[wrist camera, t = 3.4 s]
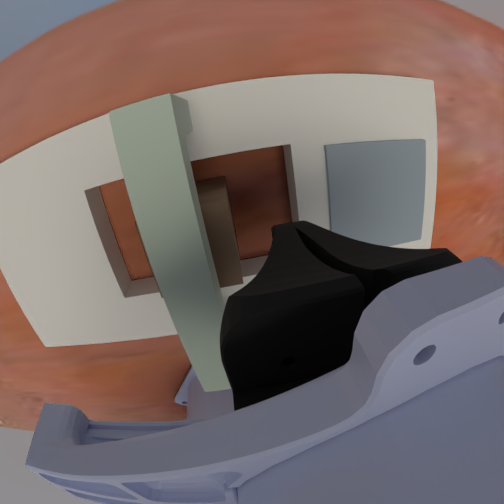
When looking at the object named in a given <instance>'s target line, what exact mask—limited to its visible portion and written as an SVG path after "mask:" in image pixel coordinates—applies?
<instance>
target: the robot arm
mask: <svg viewBox="0 0 504 504" xmlns="http://www.w3.org/2000/svg"><path fill="white" fill-rule="evenodd" d="M271 229H272V237H273V241H272V246H271V249H270V252H269V255H268V257H267V259H266V261H265V263H264V265H263V267H262V268H261V270H260V271H259V272H258V274H257V275H256V276H255V277H254V278H253V279H252V280H251V281H250V282H249V283H248V284H247V285H245V286H244V287H243V288H241V289H240V290H238V291H237V292H235V293H234V294H232V295H230V296H229V297H228V299H227V302H226V306H225V309H224V313H223V317H222V322H221V329H220V353H221V360H222V364H223V367H224V369H225V372H226V375H227V378H228V381H229V383H230V386H231V389H226V390H219V391H211V392H205V391H204V389H203V387H202V385H201V383H200V381H199V379H198V377H197V375H196V373H195V371H194V369H193V366H191V368H190V370H189V372H188V374H187V376H186V377H185V379H184V381H183V383H182V385H181V387H180V389H179V390H178V392H177V394H176V396H175V400H174V401H175V402H176V403H177V404H181V405H185V406H187V420H181V421H160V422H114V421H94V420H89V419H88V418H87V417H86V415H85V414H84V413H83V412H82V411H81V410H80V409H78V408H77V407H75V406H72V405H68V404H57V403H44V406H43V409H42V412H41V414H40V417H39V420H38V423H37V426H36V429H35V432H34V435H33V439H32V442H31V445H30V449H29V452H28V456H27V459H26V463H25V465H26V467H27V468H28V469H30V470H31V471H33V472H34V473H35V474H37V475H39V476H40V477H42V478H43V479H45V480H46V481H48V482H50V483H51V484H53V485H55V486H56V487H58V488H60V489H61V490H63V491H65V492H67V493H69V494H70V495H72V496H74V497H76V498H80V499H84V500H88V501H93V502H97V503H102V504H504V267H503V266H502V265H501V264H499V263H498V262H497V261H495V260H494V259H493V258H492V257H483V256H480V257H477V258H474V259H470V260H467V261H464V262H462V261H461V260H460V259H459V258H458V257H457V256H455V255H454V254H453V253H452V252H450V251H449V250H448V249H446V248H437V249H409V248H396V247H388V246H382V245H376V244H371V243H367V242H363V241H359V240H355V239H352V238H349V237H346V236H343V235H340V234H337V233H335V232H332V231H330V230H327V229H325V228H322V227H320V226H318V225H315V224H313V223H310V222H308V221H304V220H302V221H296V222H290V223H285V224H279V225H274V226H273V227H272V228H271Z"/></svg>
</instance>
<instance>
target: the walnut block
mask: <svg viewBox="0 0 504 504" xmlns="http://www.w3.org/2000/svg"><path fill="white" fill-rule="evenodd" d="M195 185H196V190H197V194H198V199H199V203H200V207H201V212H202V216H203V220H204V225H205V229H206V233H207V237H208V241H209V245H210V249H211V254H212V258H213V262H214V266H215V270H216V273H217V277H218V281H219V285H220V288H223V287H229V286H234V285H239V284H244V283H243V277H242V270H241V264H240V257H239V251H238V244H237V238H236V233H235V228H234V222H233V217H232V212H231V207H230V201H229V196H228V191H227V186H226V180H225V176H221V177H216V178H211V179H206V180H201V181H196V182H195ZM135 224H136V227H137V230H138V233H139V236H140V239H141V242H142V245H143V248H144V251H145V254H146V257H147V260H148V263H149V265H150V268H151V271H152V274H153V276H154V279H155V282H156V284H157V287H158V290H159V292H160V295H161V298H163V296H162V293H161V291H160V288H159V286H158V283H157V280H156V278H155V275H154V272H153V269H152V267H151V264H150V261H149V258H148V255H147V252H146V249H145V246H144V243H143V240H142V237H141V234H140V231H139V228H138V225H137V222H136V221H135Z"/></svg>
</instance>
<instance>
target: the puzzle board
mask: <svg viewBox="0 0 504 504" xmlns="http://www.w3.org/2000/svg"><path fill="white" fill-rule="evenodd" d="M173 95H176V96H178V97H181V98H183V99H185V100H188V105H189V110H190V116H191V121H192V126H193V131H192V132H190V133H189V134H187V135H186V136H185V138H186V143H187V148H188V153H189V158H190V161H195V160H200V159H204V158H209V157H214V156H220V155H225V154H230V153H236V152H241V151H247V150H253V149H260V148H266V147H273V146H280V145H283V151H284V158H285V166H286V174H287V182H288V191H289V199H290V208H291V217H292V222H296V221H302V220H304V221H308V222H310V223H313V224H315V225H318V226H320V227H322V228H325V229H327V230H330V231H332V232H335V233H337V234H340V235H343V236H346V237H349V238H352V239H355V240H359V241H363V242H367V243H371V244H376V245H382V246H388V247H396V248H409V249H430V245H431V238H432V230H433V221H434V211H435V199H436V182H437V120H436V104H435V93H434V83H433V80H427V79H419V78H411V77H401V76H389V75H373V74H308V75H292V76H279V77H269V78H260V79H252V80H245V81H238V82H231V83H225V84H219V85H214V86H208V87H203V88H198V89H194V90H189V91H185V92H180V93H176V94H173ZM123 178H124V177H123V173H122V169H121V165H120V161H119V157H118V153H117V149H116V145H115V140H114V136H113V131H112V127H111V122H110V117H109V114H106V115H103V116H100V117H98V118H95V119H92V120H90V121H87V122H85V123H82V124H80V125H77V126H75V127H72V128H70V129H68V130H65V131H63V132H61V133H59V134H56V135H54V136H52V137H50V138H48V139H46V140H44V141H42V142H40V143H38V144H36V145H34V146H32V147H30V148H28V149H26V150H24V151H22V152H20V153H18V154H17V155H15V156H13V157H11V158H9V159H8V160H6V161H4V162H2V163H1V164H0V269H1V271H2V273H3V275H4V277H5V279H6V281H7V283H8V285H9V287H10V289H11V291H12V293H13V294H14V296H15V298H16V300H17V302H18V304H19V305H20V307H21V309H22V311H23V312H24V314H25V316H26V317H27V319H28V321H29V322H30V324H31V325H32V327H33V329H34V330H35V332H36V333H37V335H38V336H39V338H40V339H41V341H42V342H43V344H44V345H45V347H53V346H70V345H84V344H97V343H108V342H118V341H128V340H137V339H145V338H153V337H161V336H169V335H176V334H178V333H177V331H176V328H175V326H174V323H173V321H172V319H171V316H170V314H169V311H168V309H167V306H166V304H165V301H164V299H163V298H161V295H160V292H159V290H158V287H157V284H156V282H155V279H154V277H149V278H143V279H138V280H133V281H132V280H131V278H130V275H129V273H128V270H127V267H126V265H125V262H124V260H123V257H122V254H121V252H120V249H119V246H118V244H117V241H116V238H115V235H114V232H113V229H112V226H111V224H110V221H109V218H108V214H107V211H106V208H105V205H104V202H103V199H102V195H101V192H100V189H99V186H100V185H103V184H106V183H109V182H113V181H116V180H120V179H123ZM267 257H268V255H266V256H261V257H256V258H250V259H245V260H240V264H241V270H242V277H243V283H244V284H239V285H234V286H229V287H223V288H220V289H221V293H222V297H223V300H224V304H225V305H226V302H227V299H228V297H229V296H230V295H232V294H234V293H235V292H237V291H238V290H240V289H241V288H243V287H244V286H245V285H247V284H248V283H249V282H250V281H251V280H252V279H253V278H254V277H255V276H256V275H257V274H258V272H259V271H260V270H261V268H262V267H263V265H264V263H265V261H266V259H267Z"/></svg>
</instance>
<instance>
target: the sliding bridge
mask: <svg viewBox="0 0 504 504" xmlns="http://www.w3.org/2000/svg"><path fill="white" fill-rule="evenodd" d="M109 117H110V122H111V127H112V131H113V136H114V140H115V145H116V149H117V153H118V157H119V161H120V165H121V169H122V173H123V177H124V180H125V184H126V188H127V191H128V195H129V198H130V202H131V205H132V209H133V212H134V215H135V218H136V222H137V225H138V228H139V231H140V234H141V237H142V240H143V243H144V246H145V249H146V252H147V255H148V258H149V261H150V264H151V267H152V269H153V272H154V275H155V278H156V280H157V283H158V286H159V288H160V291H161V293H162V296H163V299H164V301H165V304H166V306H167V309H168V311H169V314H170V316H171V319H172V321H173V323H174V326H175V328H176V331H177V333H178V335H179V338H180V340H181V342H182V344H183V347H184V349H185V351H186V353H187V356H188V358H189V360H190V362H191V364H192V366H193V369H194V371H195V373H196V375H197V377H198V379H199V381H200V383H201V385H202V387H203V389H204V391H205V392H211V391H219V390H226V389H231V386H230V383H229V381H228V378H227V375H226V372H225V369H224V367H223V364H222V360H221V353H220V329H221V322H222V317H223V313H224V309H225V306H226V305H225V304H224V300H223V297H222V293H221V289H220V285H219V281H218V277H217V273H216V270H215V266H214V262H213V258H212V254H211V249H210V245H209V241H208V237H207V233H206V229H205V225H204V220H203V216H202V212H201V207H200V203H199V199H198V194H197V190H196V185H195V181H194V176H193V172H192V167H191V162H190V158H189V153H188V148H187V143H186V138H185V136H186V135H187V134H189V133H190V132H192V131H193V126H192V121H191V116H190V110H189V105H188V100H185V99H183V98H181V97H178V96H176V95H173V94H171V93H168V94H165V95H161V96H157V97H153V98H150V99H146V100H143V101H140V102H136V103H133V104H130V105H127V106H124V107H121V108H118V109H115V110H112V111H109Z"/></svg>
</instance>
